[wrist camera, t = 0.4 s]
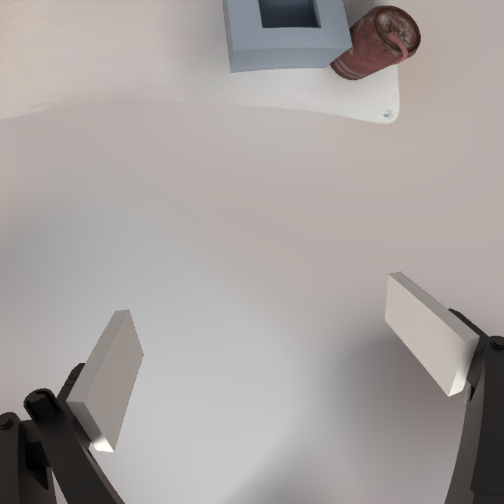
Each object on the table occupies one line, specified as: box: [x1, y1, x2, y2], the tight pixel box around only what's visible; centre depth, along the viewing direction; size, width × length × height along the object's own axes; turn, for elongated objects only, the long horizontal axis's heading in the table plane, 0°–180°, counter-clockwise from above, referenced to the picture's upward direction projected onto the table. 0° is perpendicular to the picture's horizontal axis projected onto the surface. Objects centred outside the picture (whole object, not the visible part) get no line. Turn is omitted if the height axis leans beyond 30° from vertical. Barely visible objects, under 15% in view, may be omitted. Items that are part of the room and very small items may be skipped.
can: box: [330, 6, 421, 80], centre depth 29 cm, size 6×6×14 cm
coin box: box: [222, 0, 352, 73], centre depth 29 cm, size 12×12×10 cm
